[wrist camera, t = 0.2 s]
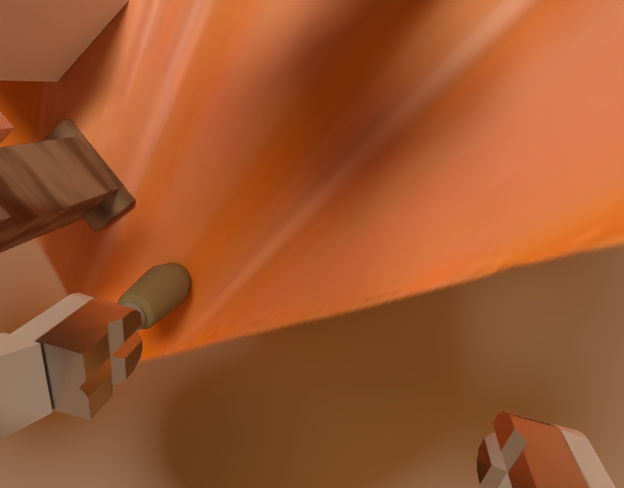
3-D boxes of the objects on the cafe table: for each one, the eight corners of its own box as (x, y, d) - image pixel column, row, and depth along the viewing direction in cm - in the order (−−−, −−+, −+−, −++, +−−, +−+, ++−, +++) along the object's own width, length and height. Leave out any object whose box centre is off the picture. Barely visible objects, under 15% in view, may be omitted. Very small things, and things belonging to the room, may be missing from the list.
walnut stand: (96, 92, 57) (-143, 94, 31) (162, 179, 60) (-4, 244, 35) (34, 156, 63) (-203, 200, 38) (98, 231, 67) (-82, 317, 41)
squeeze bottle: (171, 248, 65) (98, 300, 49) (205, 279, 66) (144, 341, 50) (148, 274, 68) (72, 331, 52) (181, 303, 69) (116, 368, 53)
